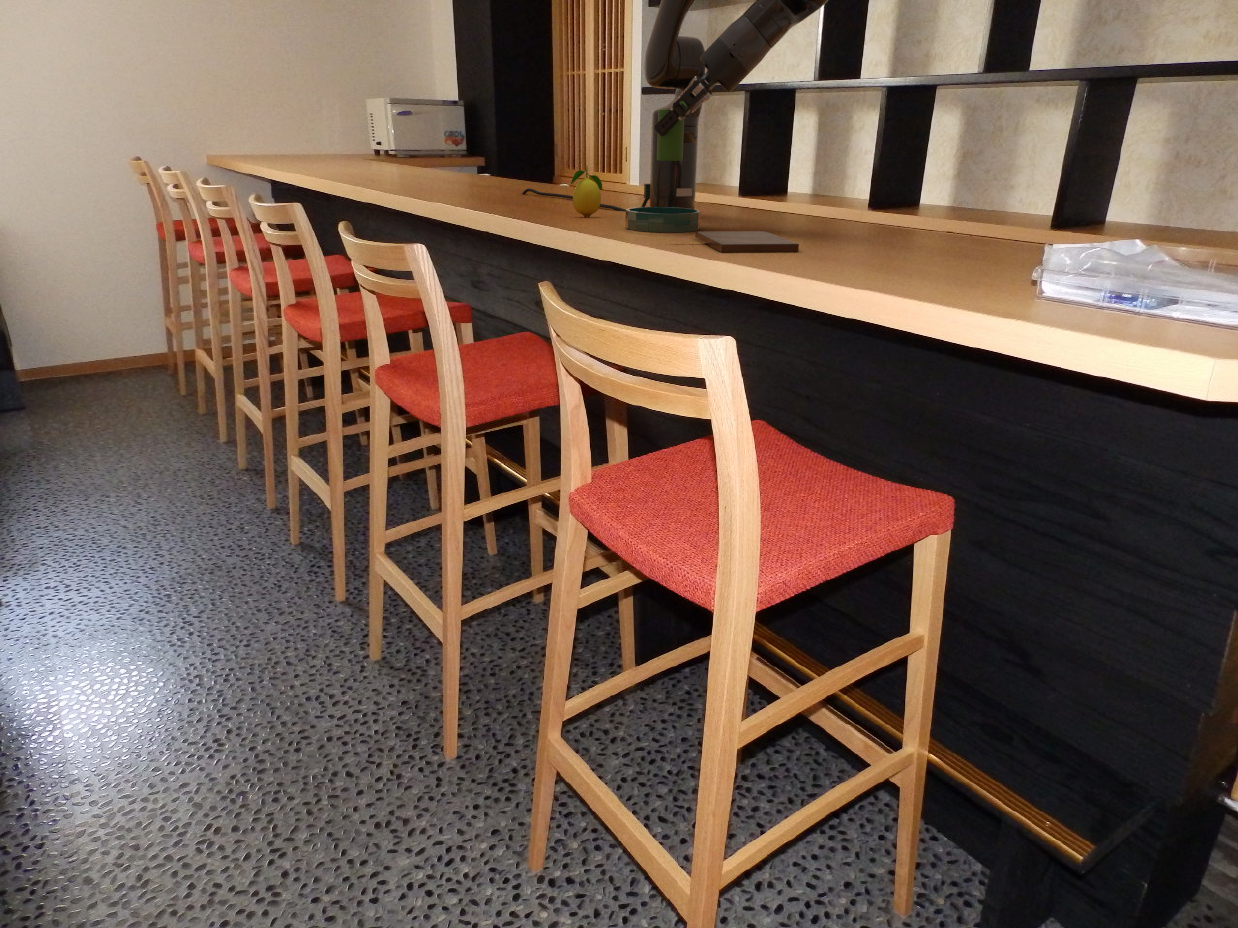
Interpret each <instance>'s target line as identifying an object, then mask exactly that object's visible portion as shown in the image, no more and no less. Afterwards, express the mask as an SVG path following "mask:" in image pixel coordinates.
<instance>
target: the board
mask: <svg viewBox="0 0 1238 928" xmlns="http://www.w3.org/2000/svg"><path fill="white" fill-rule="evenodd" d="M695 238H696V239H698V240H701V241H703V242H704V243H703V244H704V245H705V246H708V247H710V248H712V249H714V250H716V251H718V252H720V253H798V252H799V249H800V244H799V243H798V242H795V241H792V240H789V239H787V238H784V237H782V236H779V235H777V234H773V233H770V232H768V231H765V230H763V231H762V230H760V231H758V230H755V231H753V230H751V231H749V230H748V231H742V230H741V231H739V230H738V231H736V230H734V231H731V230H730V231H724V230H723V231H695Z"/></svg>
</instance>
